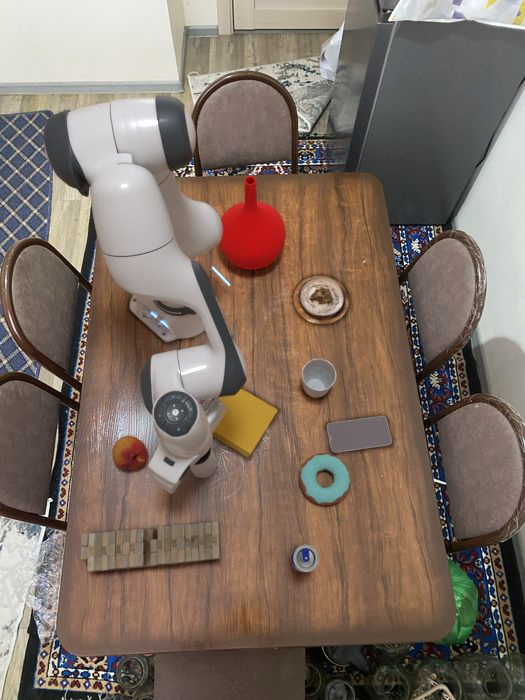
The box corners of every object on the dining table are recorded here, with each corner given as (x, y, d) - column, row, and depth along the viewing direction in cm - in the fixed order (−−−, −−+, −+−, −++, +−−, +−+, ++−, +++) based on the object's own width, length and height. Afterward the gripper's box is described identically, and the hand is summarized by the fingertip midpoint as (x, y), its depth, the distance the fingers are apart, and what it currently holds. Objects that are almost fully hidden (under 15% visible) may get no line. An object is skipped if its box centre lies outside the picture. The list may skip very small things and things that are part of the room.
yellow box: (193, 424, 128) (193, 423, 127) (224, 378, 133) (224, 378, 132) (248, 458, 125) (248, 457, 124) (278, 410, 129) (278, 409, 129)
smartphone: (392, 444, 125) (332, 453, 124) (392, 445, 126) (331, 454, 125) (385, 415, 128) (326, 423, 127) (384, 416, 129) (325, 424, 128)
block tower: (92, 572, 116) (223, 560, 116) (79, 572, 108) (219, 560, 108) (94, 534, 119) (221, 523, 119) (81, 532, 111) (217, 520, 111)
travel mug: (221, 455, 124) (215, 435, 106) (211, 482, 121) (203, 466, 103) (197, 447, 125) (186, 425, 106) (186, 473, 122) (174, 455, 104)
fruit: (123, 478, 123) (115, 472, 115) (111, 448, 125) (102, 441, 118) (154, 463, 124) (147, 456, 117) (141, 433, 127) (134, 425, 120)
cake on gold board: (346, 276, 145) (348, 268, 141) (350, 324, 139) (352, 317, 135) (293, 276, 144) (294, 268, 141) (294, 324, 139) (295, 317, 135)
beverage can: (288, 548, 117) (291, 545, 103) (310, 546, 117) (317, 543, 103) (290, 572, 115) (294, 573, 101) (313, 570, 115) (320, 570, 101)
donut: (288, 475, 123) (289, 472, 119) (326, 445, 126) (328, 441, 122) (320, 517, 119) (322, 515, 116) (359, 485, 122) (362, 482, 119)
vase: (207, 261, 146) (195, 190, 119) (242, 216, 152) (238, 139, 125) (262, 291, 143) (263, 225, 115) (296, 244, 149) (304, 170, 121)
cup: (328, 406, 130) (333, 393, 121) (296, 399, 130) (299, 387, 121) (333, 376, 133) (338, 361, 124) (302, 370, 134) (305, 355, 124)
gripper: (205, 382, 100) (211, 403, 113) (142, 473, 94) (156, 485, 106) (232, 398, 99) (235, 418, 112) (170, 492, 92) (181, 501, 105)
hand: (196, 451), depth 109 cm, fingers closed on travel mug, 6 cm apart
